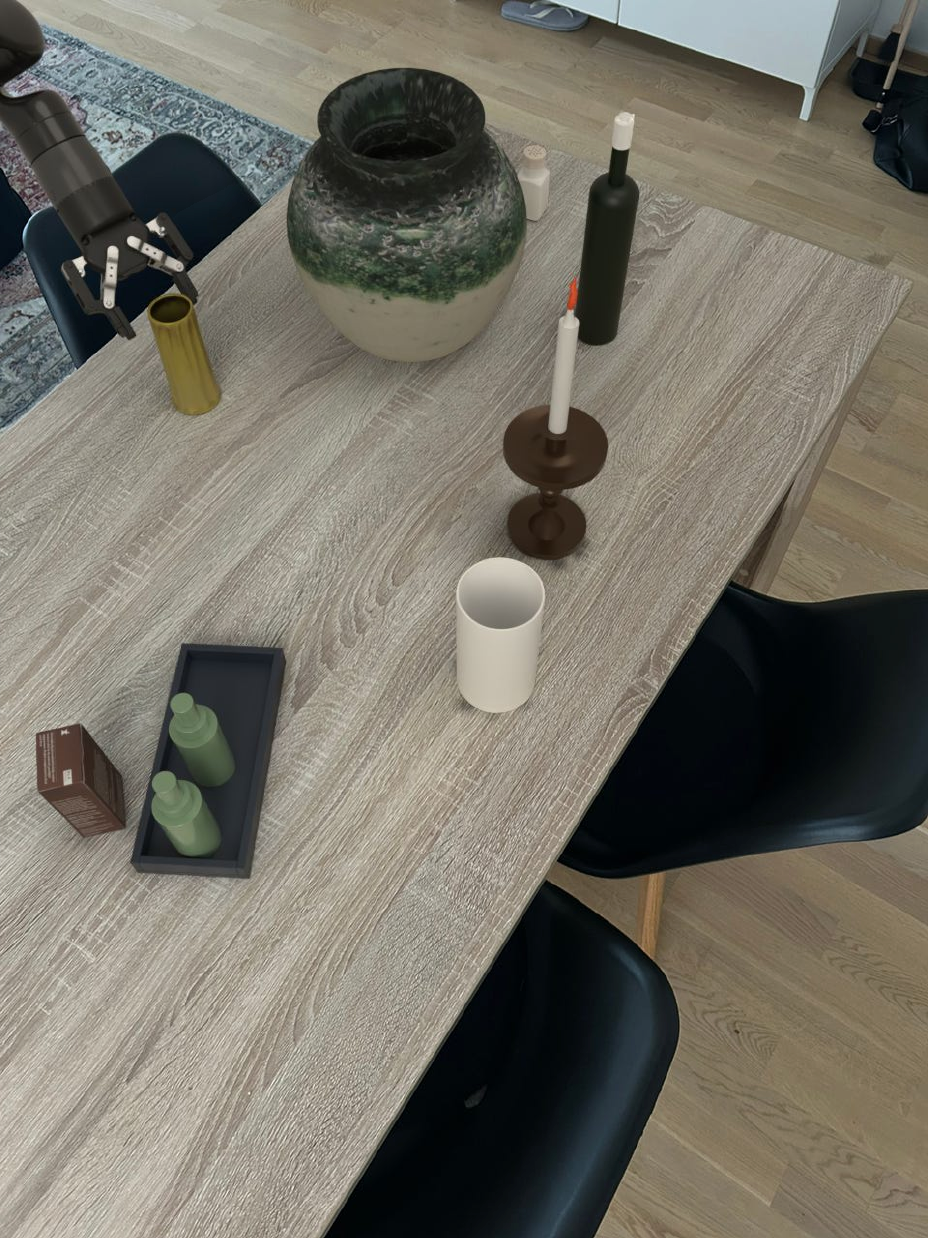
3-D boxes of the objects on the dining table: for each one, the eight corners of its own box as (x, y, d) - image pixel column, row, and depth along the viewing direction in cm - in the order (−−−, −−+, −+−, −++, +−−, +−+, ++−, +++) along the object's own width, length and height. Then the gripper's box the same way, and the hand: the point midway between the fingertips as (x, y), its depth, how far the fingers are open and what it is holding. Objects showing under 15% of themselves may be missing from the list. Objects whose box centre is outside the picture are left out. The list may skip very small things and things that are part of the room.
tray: (137, 873, 98) (129, 863, 95) (187, 656, 110) (181, 642, 108) (249, 879, 97) (244, 869, 95) (286, 661, 110) (282, 647, 108)
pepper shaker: (548, 207, 151) (553, 147, 143) (538, 223, 149) (542, 163, 141) (523, 200, 151) (526, 140, 143) (512, 216, 149) (515, 156, 141)
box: (76, 784, 102) (33, 730, 92) (123, 775, 103) (85, 720, 93) (79, 842, 99) (35, 792, 89) (126, 831, 100) (88, 781, 90)
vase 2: (519, 258, 145) (531, 41, 119) (521, 409, 129) (535, 197, 104) (315, 255, 145) (284, 39, 119) (293, 405, 130) (252, 194, 104)
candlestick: (524, 478, 123) (543, 226, 94) (608, 512, 121) (655, 263, 91) (482, 544, 118) (489, 299, 89) (569, 580, 116) (606, 340, 86)
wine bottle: (623, 341, 136) (659, 126, 110) (581, 349, 135) (608, 134, 110) (609, 311, 139) (641, 96, 113) (567, 319, 138) (591, 103, 113)
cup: (519, 636, 112) (527, 547, 98) (546, 700, 108) (558, 617, 94) (446, 656, 110) (444, 569, 97) (470, 722, 106) (472, 641, 93)
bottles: (170, 860, 98) (131, 805, 86) (195, 745, 104) (162, 679, 92) (217, 863, 97) (184, 807, 86) (239, 747, 104) (211, 681, 92)
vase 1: (219, 376, 132) (194, 286, 120) (223, 411, 129) (199, 322, 117) (170, 384, 132) (141, 294, 120) (174, 419, 128) (144, 330, 116)
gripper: (130, 174, 124) (205, 300, 129) (23, 226, 118) (105, 354, 124) (143, 154, 117) (222, 287, 122) (30, 207, 112) (117, 344, 117)
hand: (163, 321), depth 123 cm, fingers open, 8 cm apart
